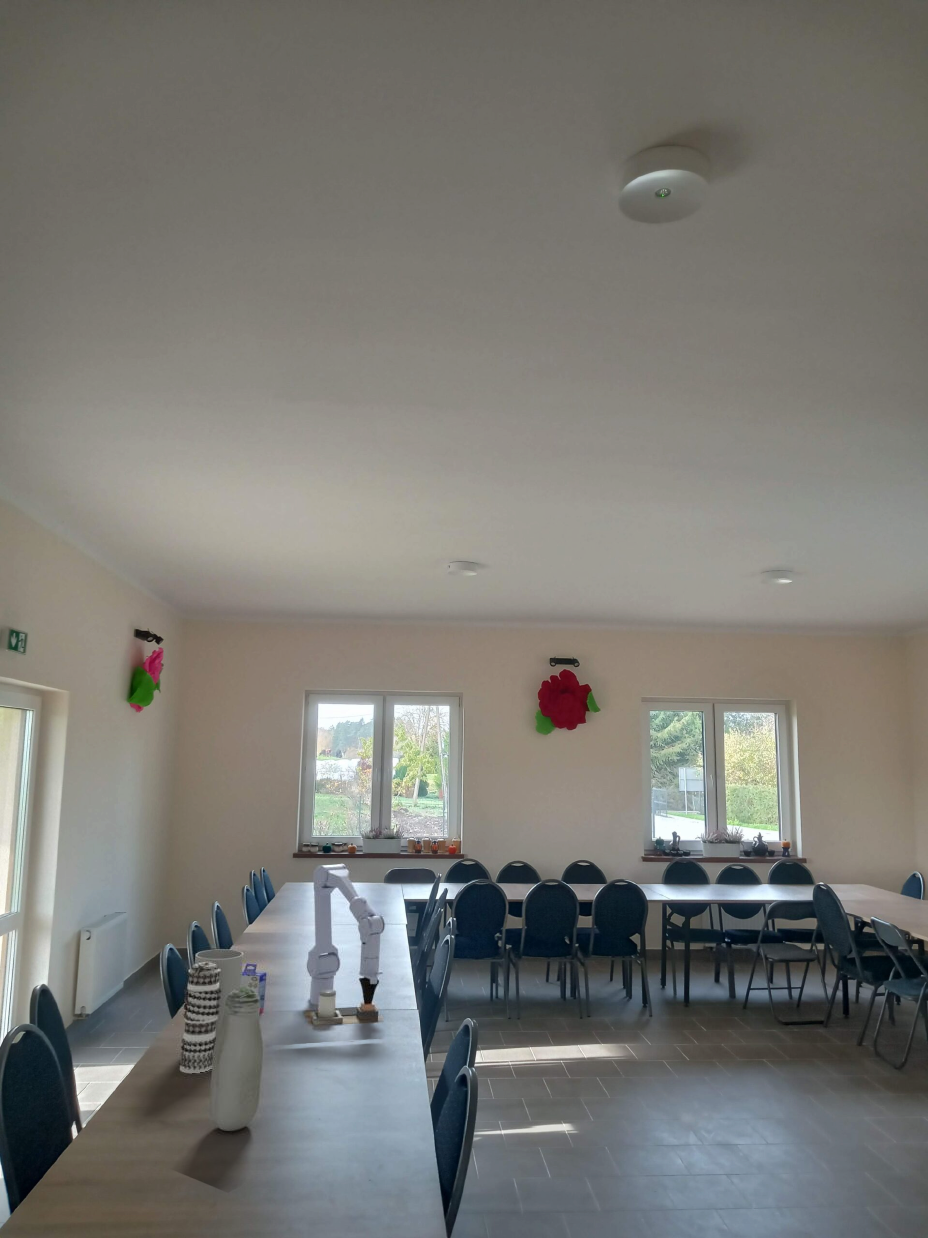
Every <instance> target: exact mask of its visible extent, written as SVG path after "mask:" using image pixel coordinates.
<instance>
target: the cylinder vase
mask: <svg viewBox="0 0 928 1238" xmlns="http://www.w3.org/2000/svg"><path fill="white" fill-rule="evenodd" d="M194 959H195V960H194V964H196V963H199V962H213V963H216V964H217V966H218V968H220V969H221V970H220V971H219V988H218V989H220V990H221V993H219V994H218V995H219V996H220V997H221V998H220V999H219V1000H217V1003H218V1004H219V1005H220V1006H219V1007H218V1008H217V1009H216V1010H218V1011H219V1013H218V1014H217V1015H218V1019H217V1020H216V1023H215V1029H216V1032H215V1037H216V1038H217V1035H218V1032H219V1030H220V1027H221V1023H222V1019H223V1015H224V1012H225V1001H226V999H227V997H228V995H229V994H230V993H231V992H232V991H233V990H235V989H238V988H241V978H242V971H243V964H244V963H243V962H244V952H242V951H239V950H236V949H228V948H227V949H226V948H225V949H223V948H220V949H219V948H218V949H209V950H208V949H207V950H202V951H198V952H197V953H195V958H194ZM215 1042H216V1041H215ZM215 1042H214V1043H215Z"/></svg>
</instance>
